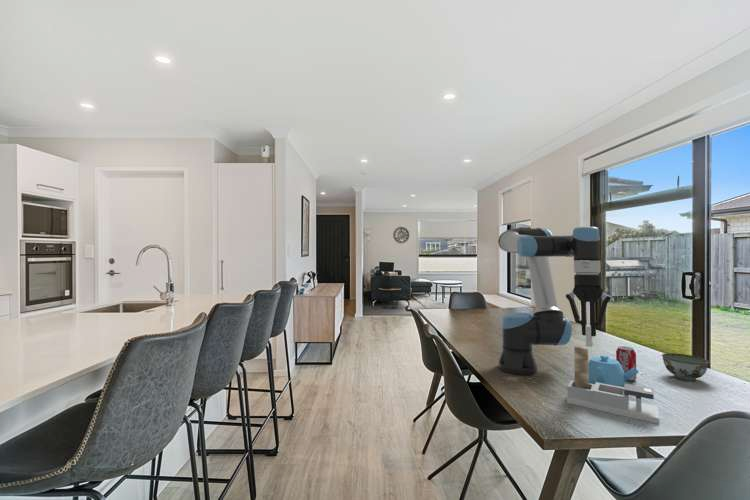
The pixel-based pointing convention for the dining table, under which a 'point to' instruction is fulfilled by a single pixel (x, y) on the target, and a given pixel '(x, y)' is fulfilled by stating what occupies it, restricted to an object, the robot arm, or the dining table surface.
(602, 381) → the teapot
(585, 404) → the grey slotted holder
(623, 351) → the beverage can
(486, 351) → the dining table surface
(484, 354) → the dining table surface
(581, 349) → the tan banded rod
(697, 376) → the bowl
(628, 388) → the plate
